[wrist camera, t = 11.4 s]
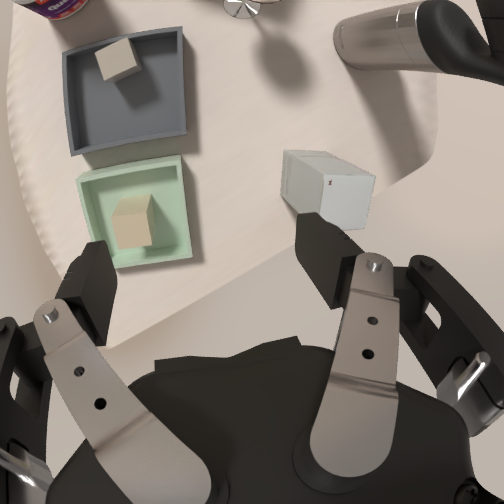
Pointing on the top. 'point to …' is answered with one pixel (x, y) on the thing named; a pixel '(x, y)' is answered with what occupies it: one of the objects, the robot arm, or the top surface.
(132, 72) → the small pebble block
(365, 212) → the supplement box
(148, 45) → the dark grey bin
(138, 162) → the pale green bin
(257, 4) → the wineglass
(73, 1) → the pill bottle
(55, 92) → the top surface
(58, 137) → the top surface
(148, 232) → the sandstone block
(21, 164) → the top surface
